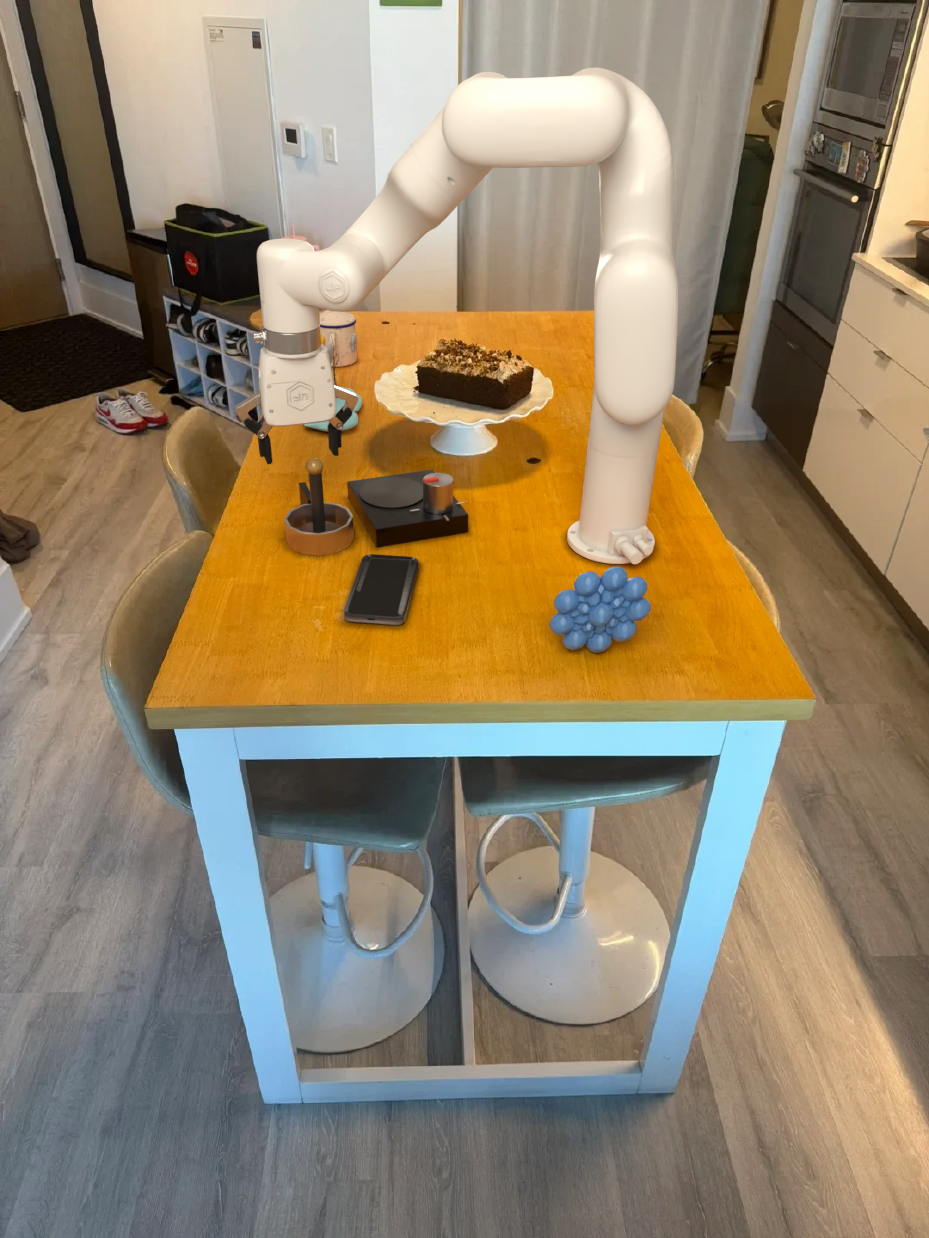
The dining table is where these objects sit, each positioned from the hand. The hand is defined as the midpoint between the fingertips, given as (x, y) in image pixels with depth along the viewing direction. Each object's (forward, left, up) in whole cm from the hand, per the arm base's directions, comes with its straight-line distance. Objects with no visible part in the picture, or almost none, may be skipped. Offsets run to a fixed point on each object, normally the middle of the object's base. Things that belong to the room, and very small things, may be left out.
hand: (301, 456), depth 131 cm
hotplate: (-5, -14, -10) cm, 18 cm away
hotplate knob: (-9, -18, -6) cm, 21 cm away
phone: (-24, -5, -10) cm, 27 cm away
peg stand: (-8, 0, -10) cm, 12 cm away
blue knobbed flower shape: (-44, -26, -10) cm, 52 cm away
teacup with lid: (+65, -21, -10) cm, 69 cm away
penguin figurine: (+37, -13, -10) cm, 40 cm away
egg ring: (-5, 0, -9) cm, 11 cm away
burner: (-3, -13, -6) cm, 15 cm away
